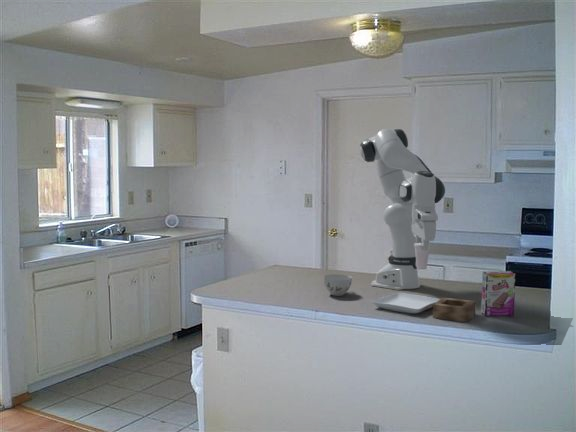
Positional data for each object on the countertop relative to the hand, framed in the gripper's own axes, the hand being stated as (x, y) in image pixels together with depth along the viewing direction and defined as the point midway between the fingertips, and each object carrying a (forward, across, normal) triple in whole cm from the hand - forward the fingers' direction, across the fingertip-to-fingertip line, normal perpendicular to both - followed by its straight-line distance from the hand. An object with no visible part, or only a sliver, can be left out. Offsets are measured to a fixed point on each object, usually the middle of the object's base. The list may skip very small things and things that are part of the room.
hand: (422, 248), depth 237 cm
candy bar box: (+24, +12, +27) cm, 38 cm away
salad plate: (+25, -3, -4) cm, 26 cm away
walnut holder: (+24, +11, +10) cm, 28 cm away
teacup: (+26, -29, -28) cm, 48 cm away
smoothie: (+8, 0, 0) cm, 8 cm away
